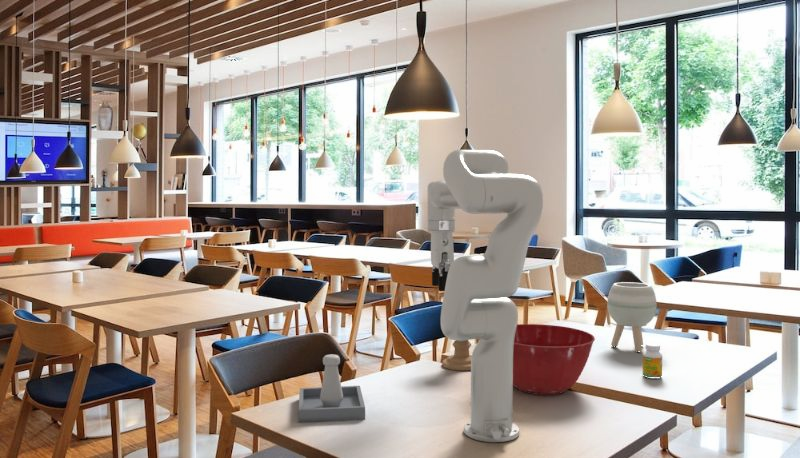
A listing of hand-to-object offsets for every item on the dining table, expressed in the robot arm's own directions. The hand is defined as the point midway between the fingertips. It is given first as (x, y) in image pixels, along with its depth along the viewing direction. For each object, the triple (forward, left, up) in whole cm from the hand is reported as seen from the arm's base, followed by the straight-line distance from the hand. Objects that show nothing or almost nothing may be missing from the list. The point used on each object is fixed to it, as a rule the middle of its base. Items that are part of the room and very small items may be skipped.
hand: (441, 288), depth 188 cm
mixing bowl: (-3, -28, -29) cm, 40 cm away
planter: (+37, -74, -28) cm, 88 cm away
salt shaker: (-13, +31, -28) cm, 43 cm away
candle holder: (+23, -11, -29) cm, 38 cm away
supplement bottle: (+3, -64, -28) cm, 70 cm away
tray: (-13, +31, -28) cm, 44 cm away
